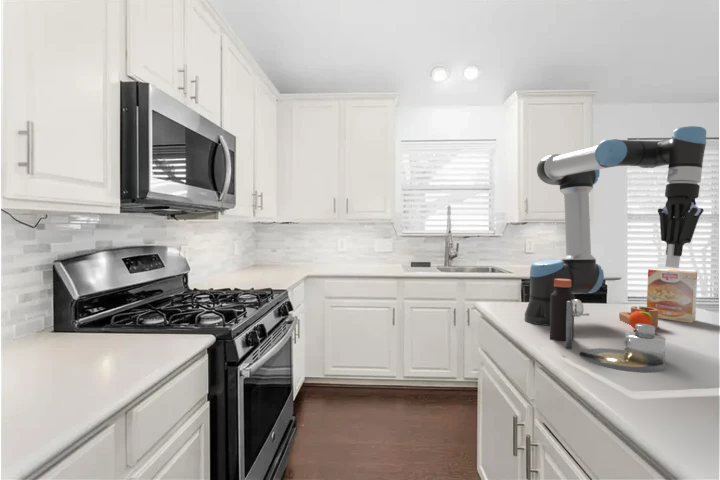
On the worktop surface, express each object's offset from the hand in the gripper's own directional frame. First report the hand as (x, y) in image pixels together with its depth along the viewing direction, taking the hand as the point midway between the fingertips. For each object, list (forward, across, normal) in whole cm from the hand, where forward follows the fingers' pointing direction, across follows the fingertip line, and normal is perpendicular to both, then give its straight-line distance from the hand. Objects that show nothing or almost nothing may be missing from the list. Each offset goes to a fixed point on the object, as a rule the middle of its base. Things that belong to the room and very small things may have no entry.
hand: (671, 267), depth 118 cm
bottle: (+28, -15, -21) cm, 38 cm away
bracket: (+25, -38, +22) cm, 50 cm away
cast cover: (+25, +6, -10) cm, 27 cm away
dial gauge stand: (+28, -5, -22) cm, 36 cm away
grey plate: (+27, +6, -16) cm, 32 cm away
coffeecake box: (+23, -45, +42) cm, 66 cm away
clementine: (+25, -27, +16) cm, 40 cm away
